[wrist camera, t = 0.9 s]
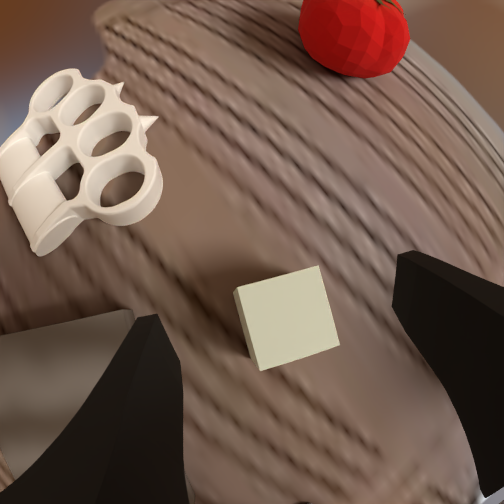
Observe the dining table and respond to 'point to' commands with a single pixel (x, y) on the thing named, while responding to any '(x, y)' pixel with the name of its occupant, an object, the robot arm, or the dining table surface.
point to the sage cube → (286, 318)
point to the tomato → (354, 35)
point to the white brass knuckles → (75, 160)
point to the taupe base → (53, 381)
